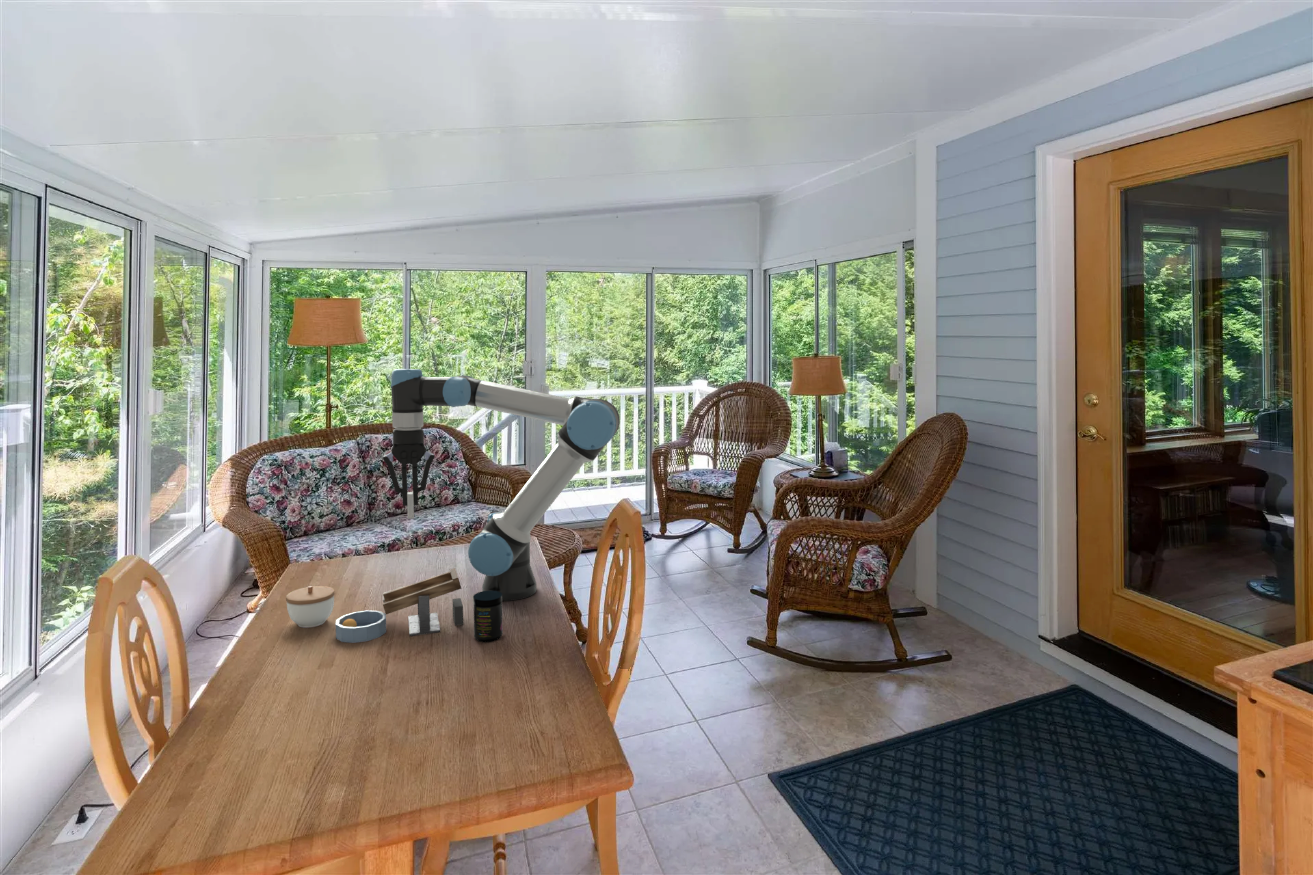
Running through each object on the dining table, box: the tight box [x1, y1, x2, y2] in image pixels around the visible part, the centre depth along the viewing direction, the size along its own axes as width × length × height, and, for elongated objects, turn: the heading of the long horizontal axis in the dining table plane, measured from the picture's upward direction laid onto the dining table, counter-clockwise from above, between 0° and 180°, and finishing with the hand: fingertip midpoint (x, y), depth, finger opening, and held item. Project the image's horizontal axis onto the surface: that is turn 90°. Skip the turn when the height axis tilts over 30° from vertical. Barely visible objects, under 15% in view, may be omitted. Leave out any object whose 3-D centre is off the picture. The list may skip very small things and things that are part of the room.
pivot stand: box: [407, 595, 441, 637], centre depth 165 cm, size 7×12×9 cm, turn 22°
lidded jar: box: [285, 585, 335, 629], centre depth 166 cm, size 11×11×9 cm
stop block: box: [452, 597, 464, 626], centre depth 168 cm, size 2×6×5 cm, turn 22°
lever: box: [382, 568, 462, 615], centre depth 167 cm, size 18×14×3 cm
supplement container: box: [472, 590, 504, 643], centre depth 158 cm, size 7×7×10 cm
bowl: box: [334, 609, 387, 644], centre depth 160 cm, size 11×11×4 cm
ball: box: [342, 619, 357, 627], centre depth 159 cm, size 3×3×3 cm
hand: (410, 517), depth 175 cm, fingers closed
